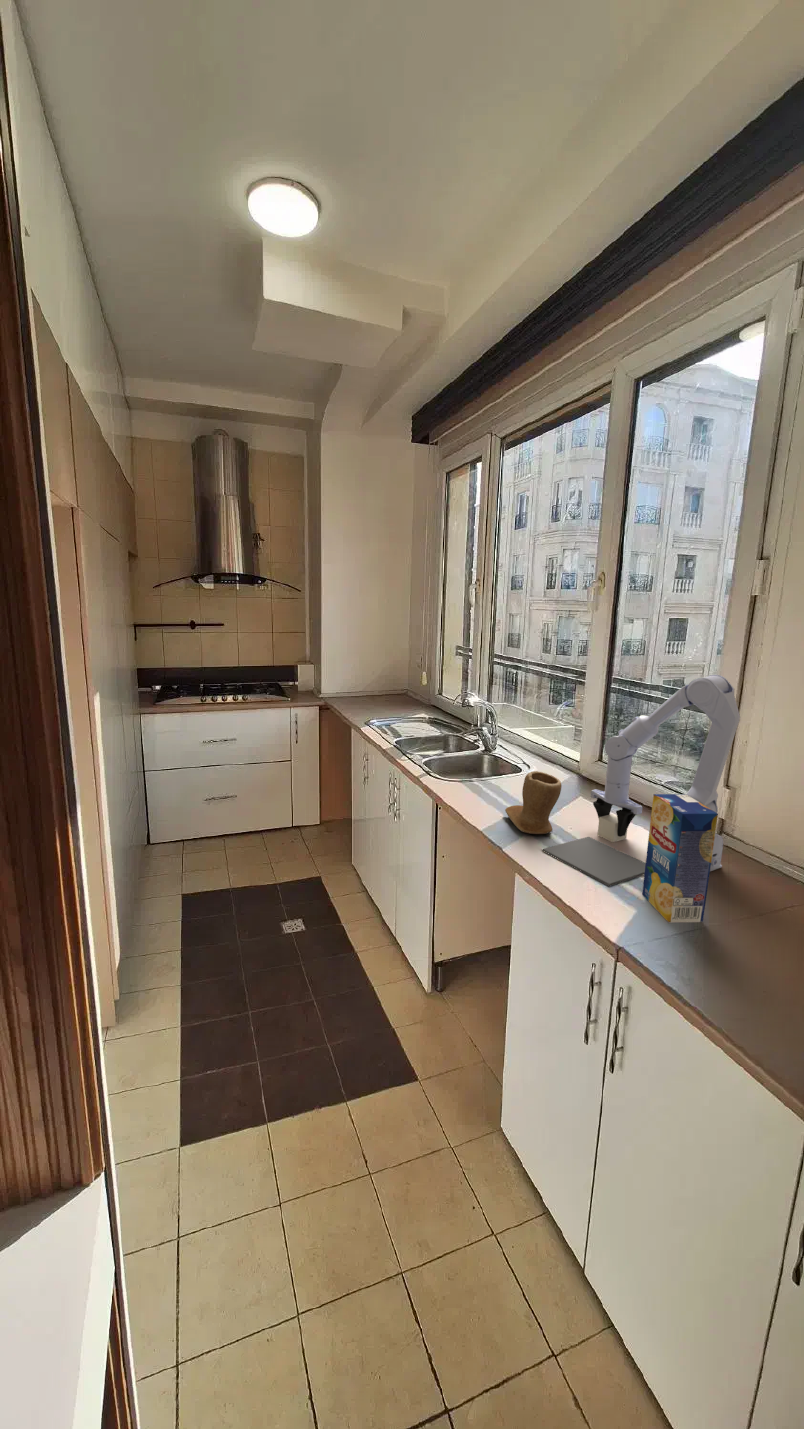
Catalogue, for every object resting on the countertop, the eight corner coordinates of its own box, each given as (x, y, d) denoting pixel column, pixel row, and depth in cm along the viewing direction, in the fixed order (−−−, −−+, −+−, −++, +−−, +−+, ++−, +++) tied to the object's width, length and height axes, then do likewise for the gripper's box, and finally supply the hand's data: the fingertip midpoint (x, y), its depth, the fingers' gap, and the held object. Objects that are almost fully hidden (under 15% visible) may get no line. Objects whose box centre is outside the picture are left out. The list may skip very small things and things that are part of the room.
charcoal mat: (656, 870, 134) (657, 867, 134) (609, 886, 126) (609, 883, 126) (588, 838, 151) (588, 836, 150) (542, 851, 142) (542, 848, 142)
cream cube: (626, 838, 151) (628, 820, 150) (613, 842, 149) (615, 823, 148) (610, 831, 156) (612, 814, 155) (597, 835, 153) (599, 817, 152)
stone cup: (564, 837, 151) (568, 781, 148) (518, 838, 150) (522, 782, 147) (545, 815, 166) (549, 764, 163) (503, 816, 165) (507, 764, 162)
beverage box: (673, 893, 123) (685, 794, 119) (703, 922, 113) (718, 813, 108) (641, 894, 123) (653, 794, 118) (668, 922, 112) (682, 813, 108)
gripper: (652, 787, 145) (646, 838, 148) (605, 771, 157) (600, 819, 160) (633, 791, 142) (628, 844, 144) (587, 775, 154) (582, 824, 156)
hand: (612, 831), depth 152 cm, fingers closed on cream cube, 5 cm apart
